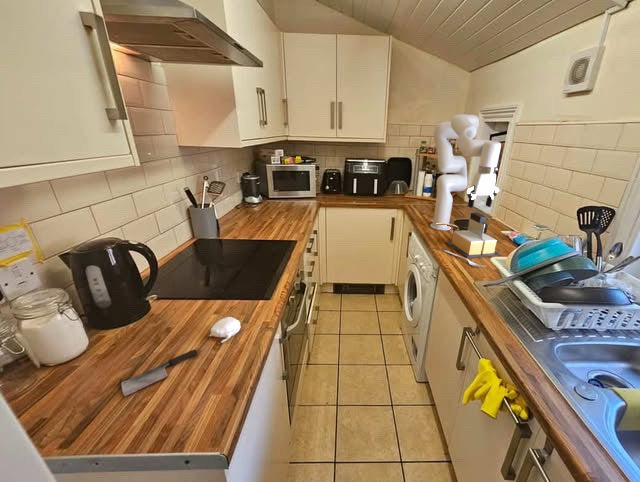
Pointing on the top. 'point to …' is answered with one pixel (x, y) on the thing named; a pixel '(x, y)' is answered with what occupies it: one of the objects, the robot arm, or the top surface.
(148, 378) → the cleaver
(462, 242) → the cake
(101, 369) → the top surface
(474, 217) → the knife
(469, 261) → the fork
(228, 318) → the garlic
